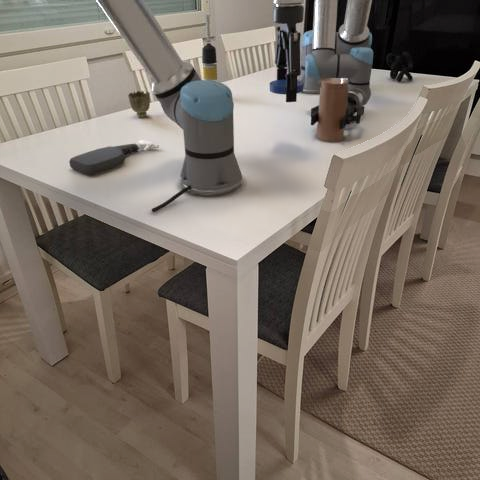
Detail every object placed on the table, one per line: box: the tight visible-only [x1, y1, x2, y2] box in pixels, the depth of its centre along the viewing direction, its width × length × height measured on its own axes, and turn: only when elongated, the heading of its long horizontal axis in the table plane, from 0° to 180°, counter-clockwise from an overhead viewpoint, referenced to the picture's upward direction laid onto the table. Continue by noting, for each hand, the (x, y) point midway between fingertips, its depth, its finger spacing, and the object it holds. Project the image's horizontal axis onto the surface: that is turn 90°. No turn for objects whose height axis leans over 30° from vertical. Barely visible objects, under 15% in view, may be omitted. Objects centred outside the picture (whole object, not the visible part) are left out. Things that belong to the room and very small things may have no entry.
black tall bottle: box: [201, 14, 218, 82], centre depth 171 cm, size 6×6×30 cm
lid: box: [269, 79, 304, 95], centre depth 121 cm, size 9×9×2 cm
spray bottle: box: [68, 139, 160, 177], centre depth 124 cm, size 3×11×24 cm
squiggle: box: [385, 51, 414, 83], centre depth 198 cm, size 11×10×15 cm
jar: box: [316, 78, 349, 143], centre depth 133 cm, size 8×8×17 cm
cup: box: [127, 90, 151, 118], centre depth 157 cm, size 8×7×8 cm
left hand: (286, 97), depth 122 cm, fingers closed on lid, 9 cm apart
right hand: (326, 122), depth 131 cm, fingers closed on jar, 8 cm apart
